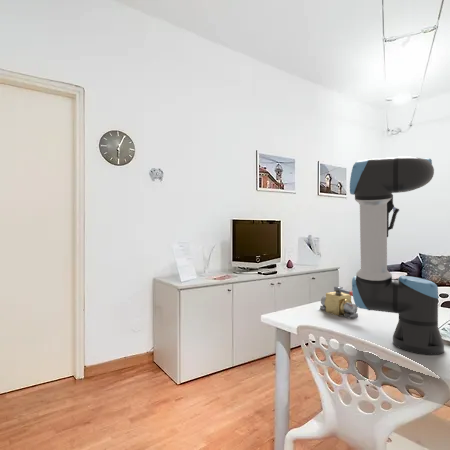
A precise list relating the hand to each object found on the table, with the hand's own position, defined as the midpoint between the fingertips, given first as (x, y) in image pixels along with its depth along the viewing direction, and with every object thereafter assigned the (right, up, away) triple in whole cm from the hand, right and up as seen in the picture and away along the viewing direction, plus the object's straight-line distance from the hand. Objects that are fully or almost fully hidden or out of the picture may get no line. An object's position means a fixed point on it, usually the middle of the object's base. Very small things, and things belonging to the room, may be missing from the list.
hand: (383, 244), depth 154 cm
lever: (-19, -22, -6) cm, 29 cm away
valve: (-21, -32, +1) cm, 39 cm away
